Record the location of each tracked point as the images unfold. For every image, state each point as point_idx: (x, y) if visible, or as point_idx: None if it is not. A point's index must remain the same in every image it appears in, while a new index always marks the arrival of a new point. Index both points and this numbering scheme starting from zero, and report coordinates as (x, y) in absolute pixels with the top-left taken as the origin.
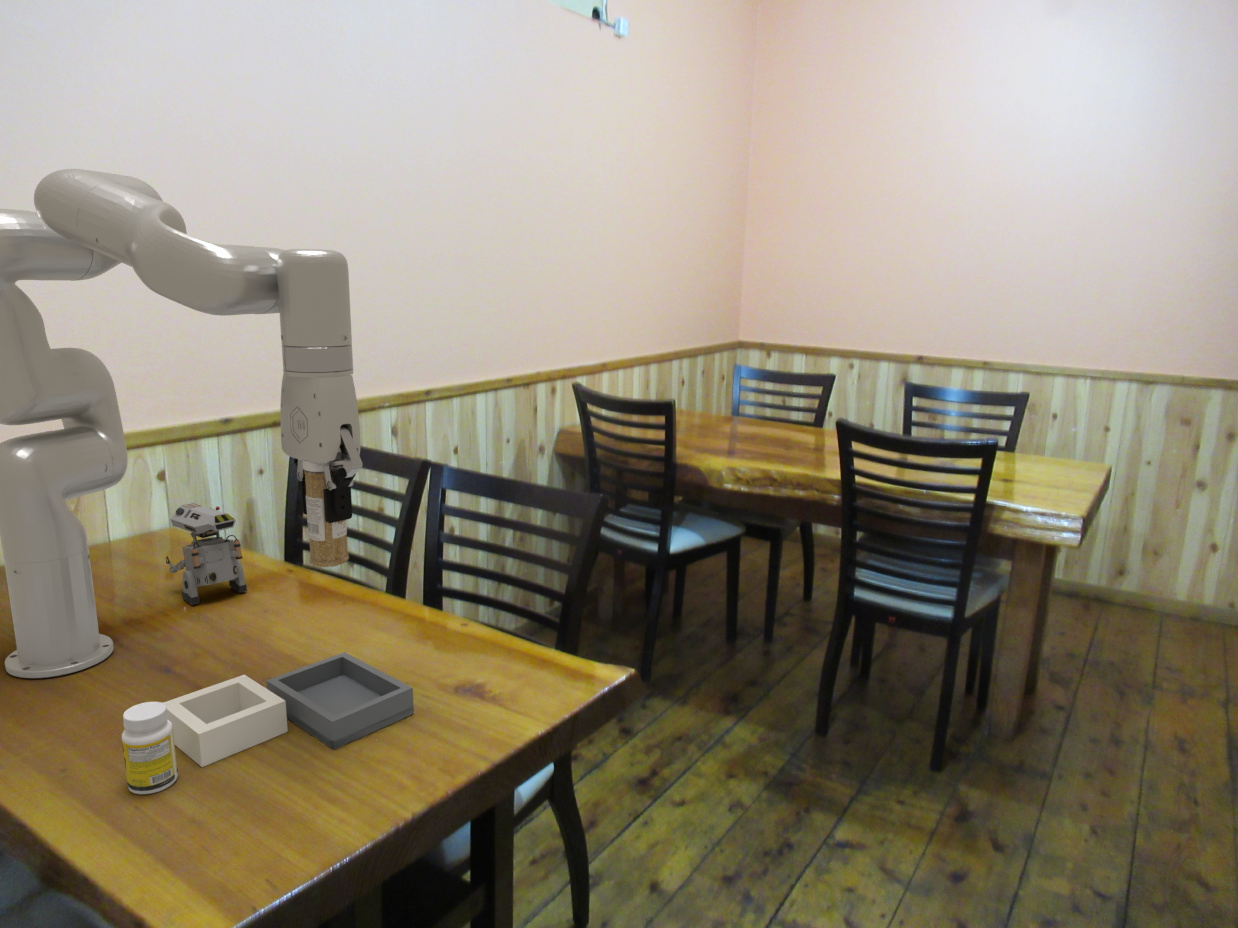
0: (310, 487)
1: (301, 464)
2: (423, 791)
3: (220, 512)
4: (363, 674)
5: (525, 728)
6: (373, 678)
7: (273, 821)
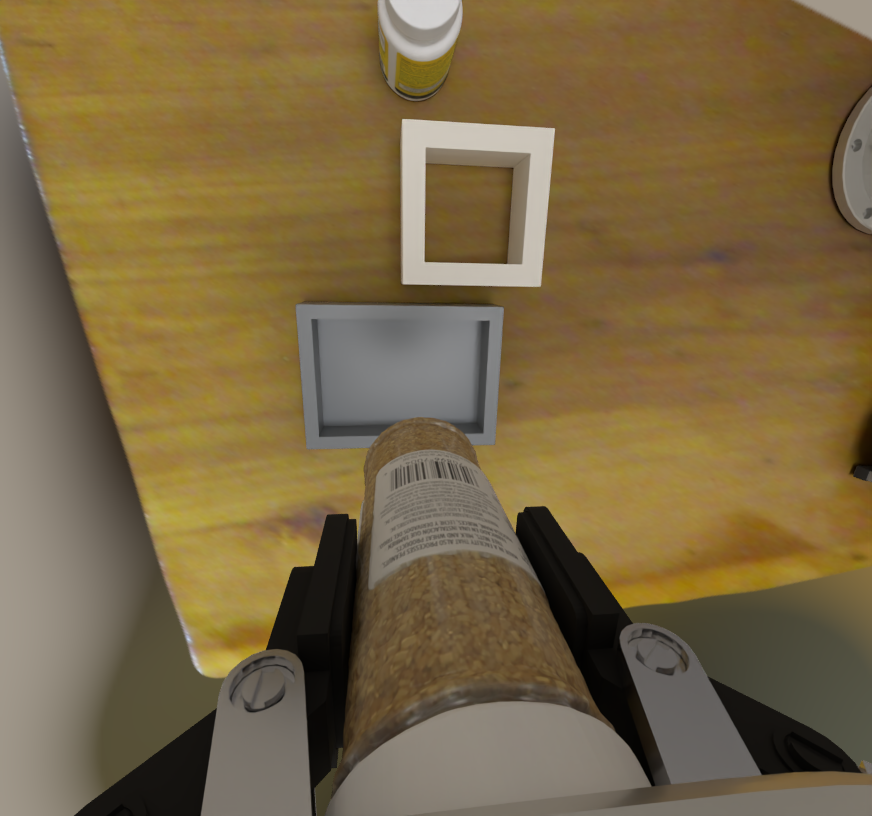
0: (443, 600)
1: (684, 745)
2: (115, 324)
3: None
4: None
5: (169, 509)
6: None
7: (186, 133)
